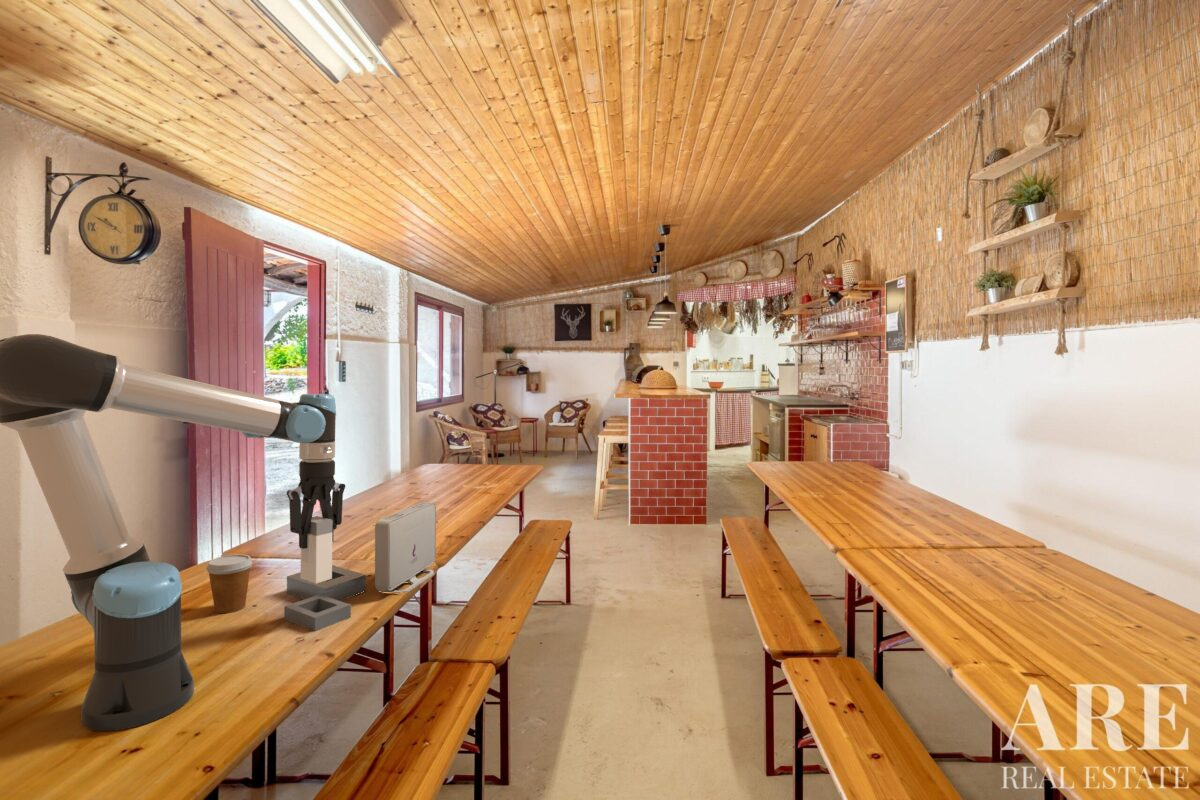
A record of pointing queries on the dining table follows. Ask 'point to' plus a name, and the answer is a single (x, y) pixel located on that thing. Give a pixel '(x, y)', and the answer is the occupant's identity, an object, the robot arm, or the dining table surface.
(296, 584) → the port block
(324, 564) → the plug
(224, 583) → the disposable coffee cup
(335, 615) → the holder
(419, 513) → the network device
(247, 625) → the dining table surface
